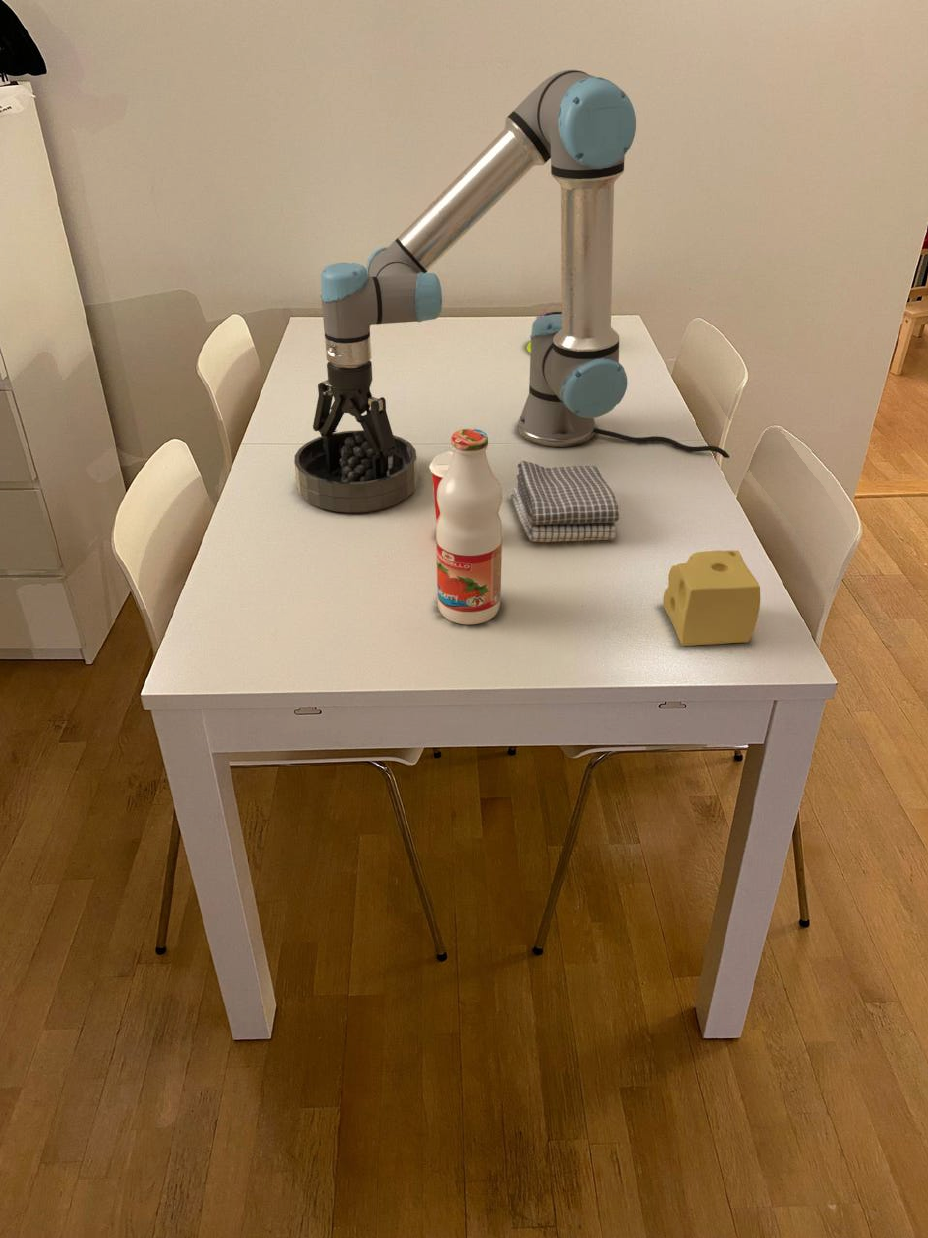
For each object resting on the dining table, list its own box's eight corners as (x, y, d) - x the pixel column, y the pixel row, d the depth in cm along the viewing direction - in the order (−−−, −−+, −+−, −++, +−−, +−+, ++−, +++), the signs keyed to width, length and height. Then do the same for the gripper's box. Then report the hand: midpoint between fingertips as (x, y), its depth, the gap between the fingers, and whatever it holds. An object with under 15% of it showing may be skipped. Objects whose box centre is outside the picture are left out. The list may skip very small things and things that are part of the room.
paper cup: (483, 529, 168) (484, 453, 160) (468, 551, 162) (469, 474, 154) (440, 521, 170) (438, 446, 162) (424, 543, 164) (421, 466, 156)
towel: (529, 550, 162) (531, 507, 158) (509, 497, 177) (510, 457, 173) (619, 543, 164) (624, 501, 160) (592, 491, 179) (596, 451, 174)
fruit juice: (513, 608, 149) (519, 436, 132) (467, 634, 143) (468, 457, 127) (470, 583, 154) (470, 415, 138) (424, 607, 149) (419, 434, 133)
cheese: (661, 607, 149) (669, 550, 143) (731, 604, 150) (742, 547, 144) (679, 649, 140) (688, 590, 135) (754, 645, 141) (766, 586, 135)
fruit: (360, 457, 168) (378, 418, 180) (317, 468, 171) (337, 429, 183) (379, 500, 173) (395, 460, 185) (336, 510, 175) (355, 470, 187)
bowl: (441, 481, 182) (440, 451, 179) (360, 527, 168) (357, 496, 165) (355, 449, 193) (353, 420, 190) (272, 490, 179) (269, 460, 176)
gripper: (284, 351, 171) (296, 467, 183) (385, 384, 159) (391, 505, 171) (316, 339, 175) (325, 453, 188) (416, 370, 164) (419, 489, 176)
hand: (356, 478), depth 180 cm, fingers closed on fruit, 11 cm apart
